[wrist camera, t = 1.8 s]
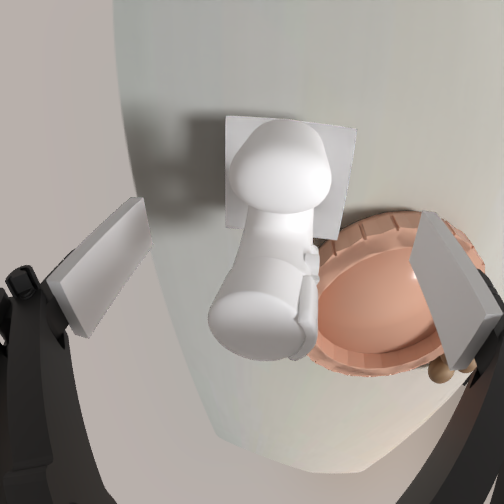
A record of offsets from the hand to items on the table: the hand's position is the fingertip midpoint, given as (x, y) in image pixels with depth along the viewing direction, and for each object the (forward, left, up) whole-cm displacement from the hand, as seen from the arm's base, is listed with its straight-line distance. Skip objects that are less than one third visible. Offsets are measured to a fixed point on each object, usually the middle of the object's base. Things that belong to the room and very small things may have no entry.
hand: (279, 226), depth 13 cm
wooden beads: (+20, +21, -8) cm, 30 cm away
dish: (+12, +10, -8) cm, 17 cm away
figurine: (0, 0, -9) cm, 9 cm away
